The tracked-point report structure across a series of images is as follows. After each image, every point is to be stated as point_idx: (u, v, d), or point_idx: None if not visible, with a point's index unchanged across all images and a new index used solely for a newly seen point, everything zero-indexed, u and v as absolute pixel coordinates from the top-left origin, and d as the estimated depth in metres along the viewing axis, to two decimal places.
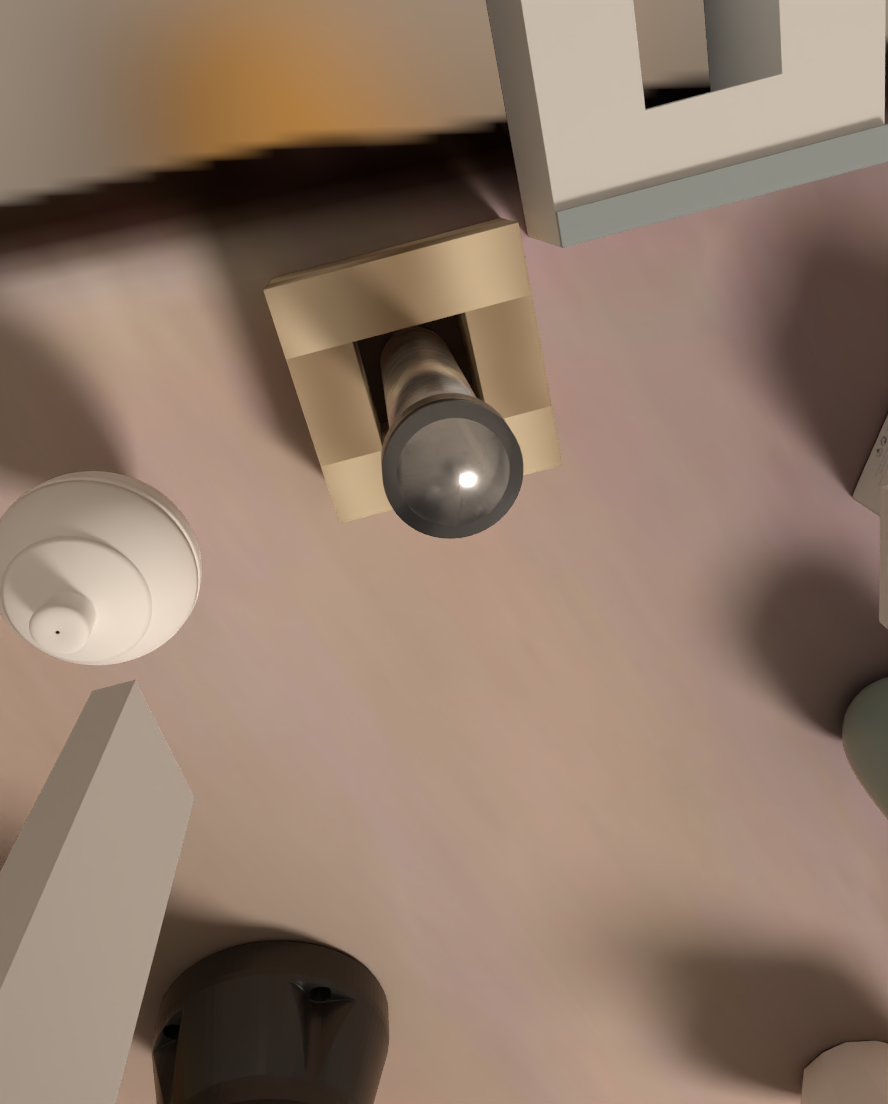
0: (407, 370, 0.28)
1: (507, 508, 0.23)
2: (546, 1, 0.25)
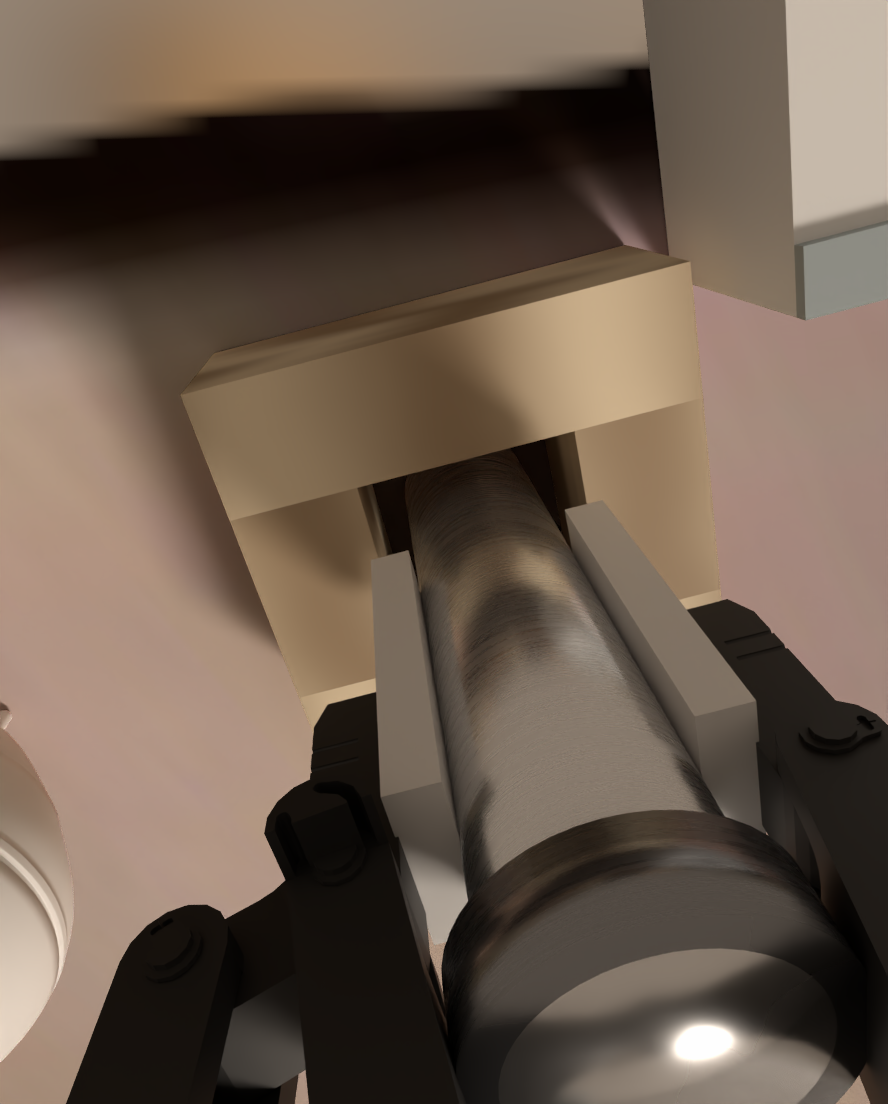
0: (476, 583, 0.13)
1: None
2: None
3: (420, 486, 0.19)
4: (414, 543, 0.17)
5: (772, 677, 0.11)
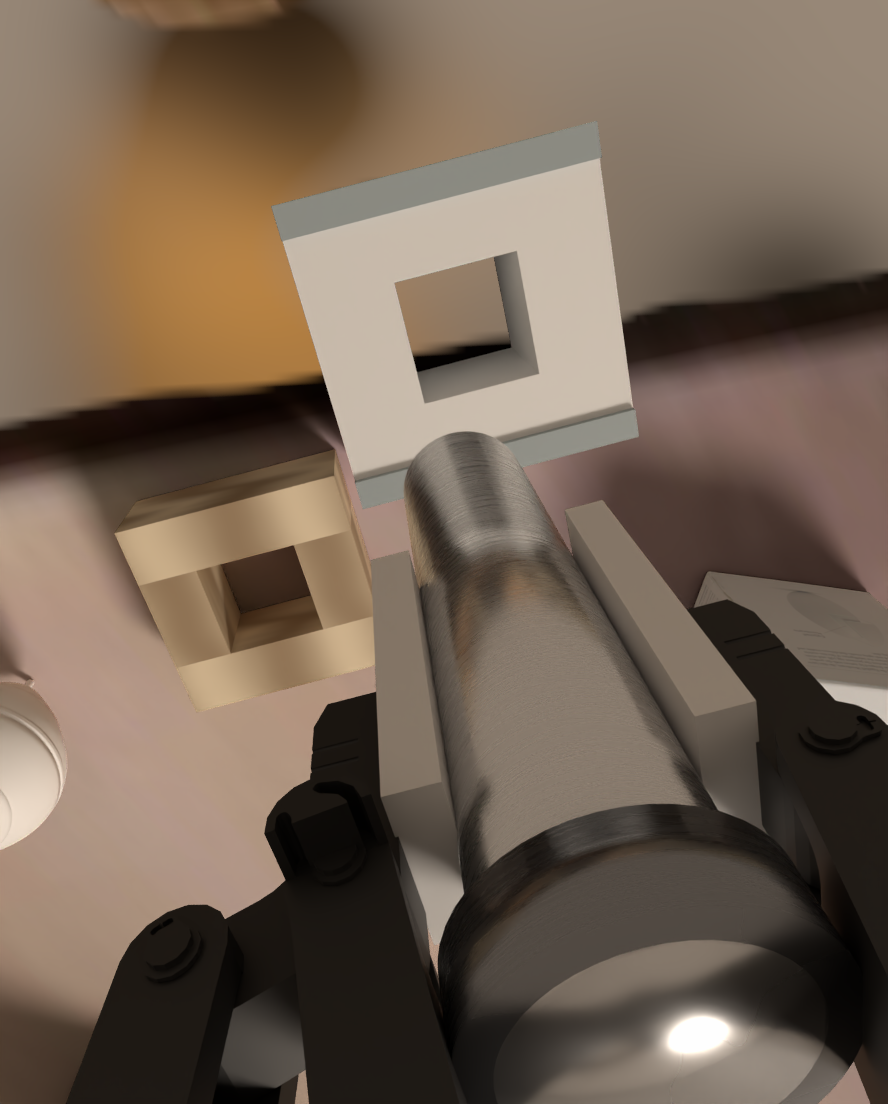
0: (474, 581, 0.13)
1: None
2: (330, 328, 0.30)
3: (419, 485, 0.19)
4: (412, 542, 0.17)
5: (771, 678, 0.11)
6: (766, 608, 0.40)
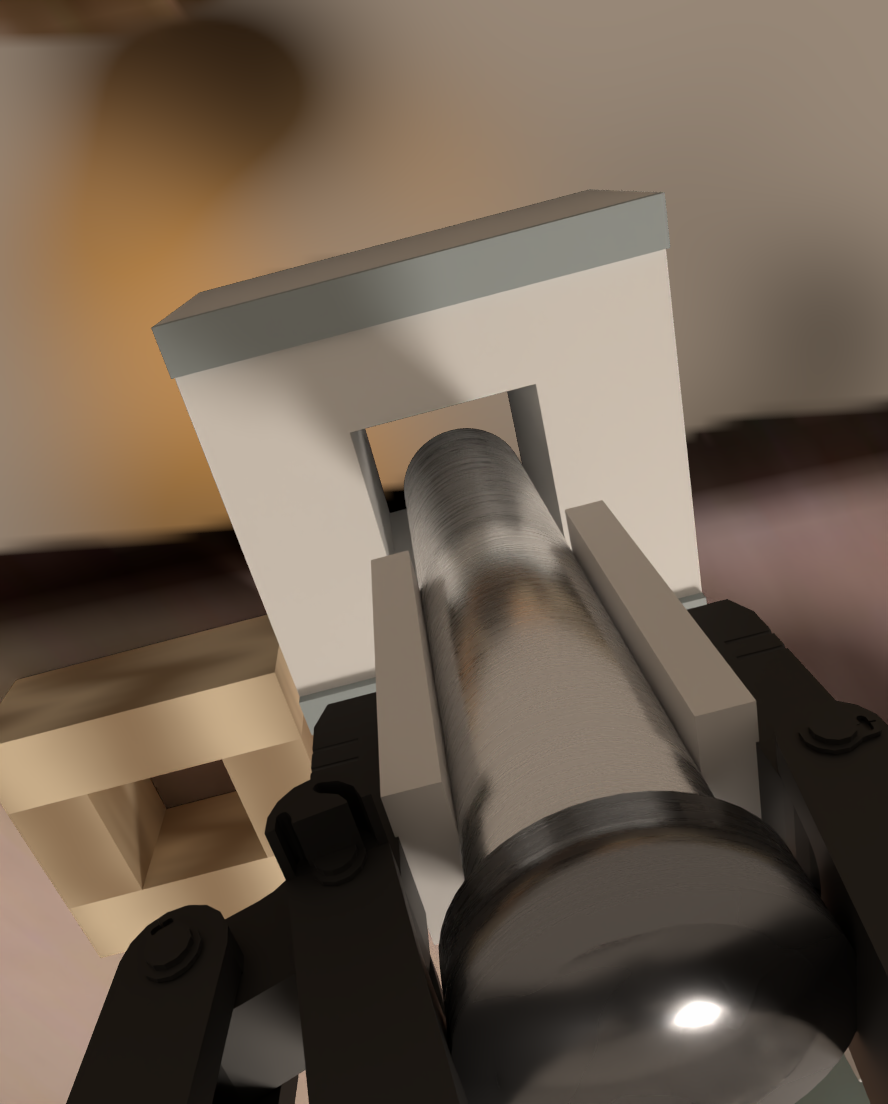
0: (474, 575, 0.13)
1: (796, 1099, 0.08)
2: (254, 497, 0.20)
3: (419, 481, 0.19)
4: (413, 537, 0.18)
5: (771, 678, 0.11)
6: None
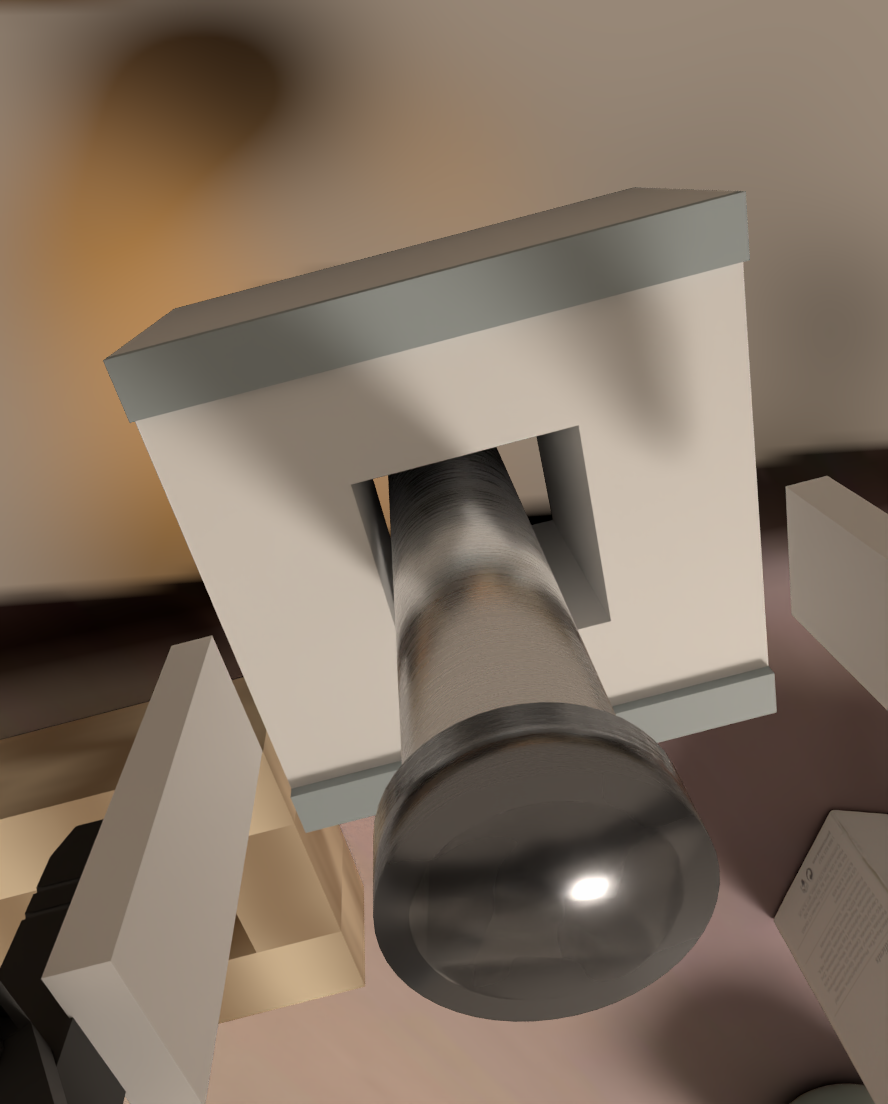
0: (433, 540, 0.15)
1: (670, 965, 0.10)
2: (235, 561, 0.17)
3: None
4: (390, 512, 0.19)
5: None
6: None
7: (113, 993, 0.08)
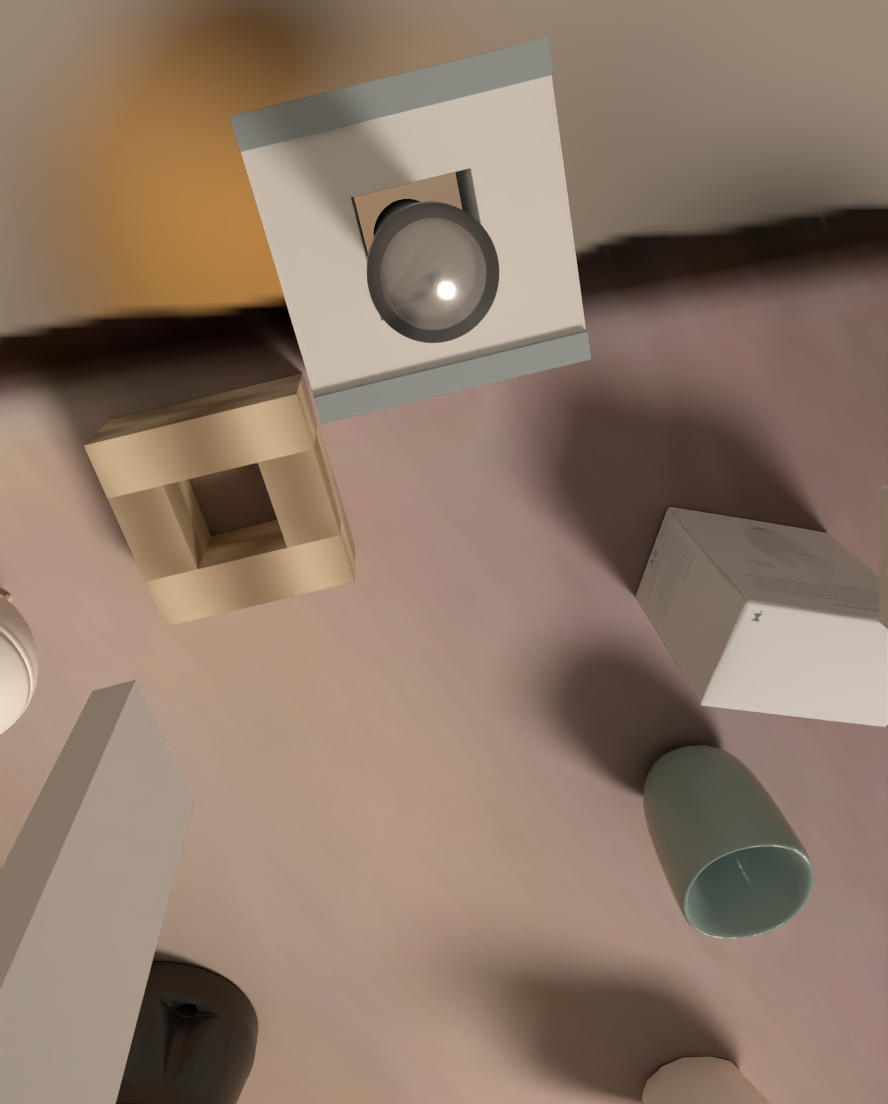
0: None
1: (484, 314, 0.24)
2: (288, 241, 0.31)
3: (380, 217, 0.35)
4: None
5: None
6: (721, 540, 0.41)
7: None
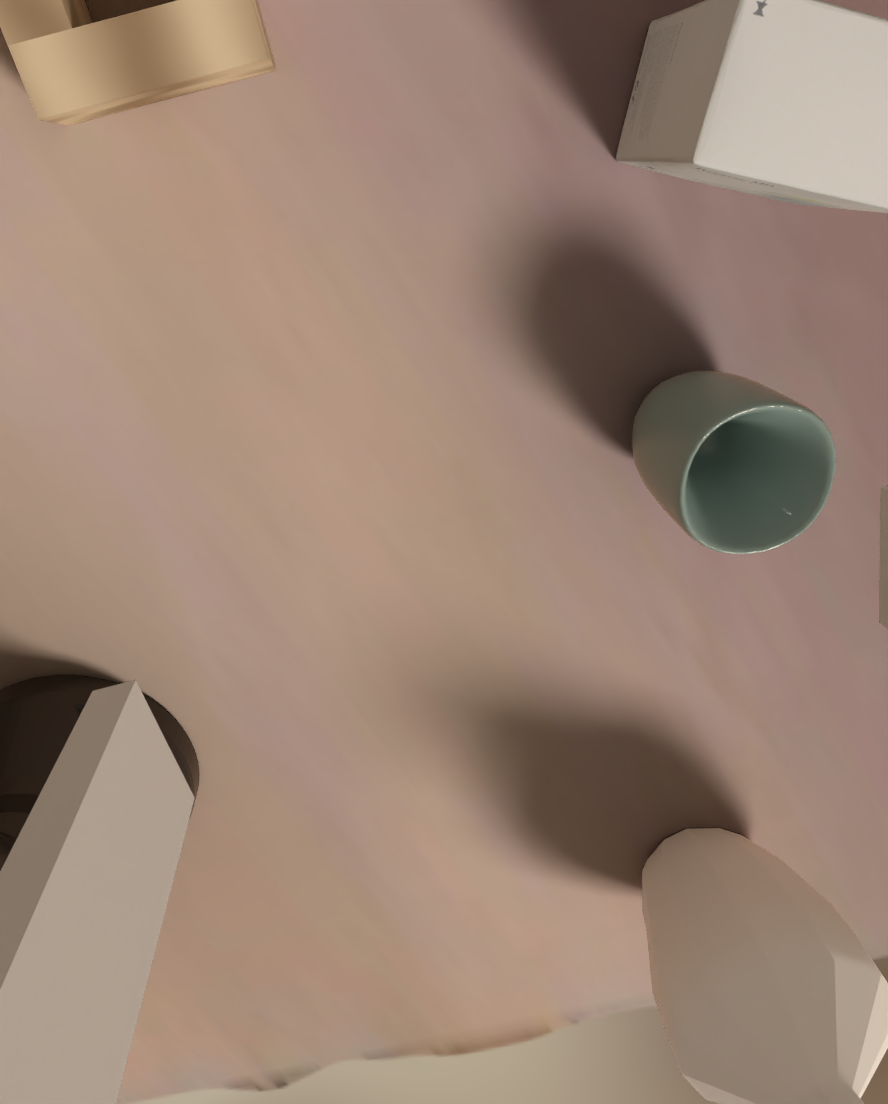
0: None
1: None
2: None
3: None
4: None
5: None
6: None
7: None
